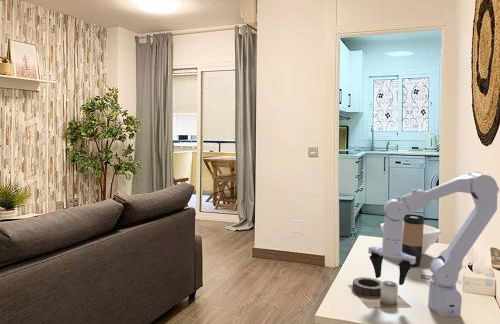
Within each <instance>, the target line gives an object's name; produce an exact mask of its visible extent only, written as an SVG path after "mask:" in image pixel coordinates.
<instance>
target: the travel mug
mask: <svg viewBox="0 0 500 324" xmlns="http://www.w3.org/2000/svg"><path fill="white" fill-rule="evenodd" d="M403 221H404V227H403V240H402V252H403V253H405V254H408V255H411V256H414V257H416V263H415V264H413V265H412V266H411V268H419V267H420V266H421V261H422V243H423V227H424V225H425V223H424V222H425V218H424V216H422V215H418V214H412V213H410V214H406V215H405V217H404V218H403Z"/></svg>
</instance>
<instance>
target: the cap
mask: <svg viewBox="0 0 500 324" xmlns="http://www.w3.org/2000/svg"><path fill="white" fill-rule="evenodd" d="M398 290H399V284H398V283H396V282H394V281H392V280H383V281H382V283H381V295H380V301H381V302H382V303H384V304H388V305H394V304H397V294H398Z"/></svg>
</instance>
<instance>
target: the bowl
mask: <svg viewBox="0 0 500 324" xmlns="http://www.w3.org/2000/svg"><path fill="white" fill-rule="evenodd" d="M379 226H380V229H381V230H382V232H383V228H384V222H383V223H382V222H381V223H380V225H379ZM403 227H404V220H403ZM441 234H442V231H441V229H438V228H436V227H434V226H430V225H427V224H424V227H423V243H422V254H425V253H426V252H427V251H428V249H429V248H430V246H431V245H434V244H435V242H436V241H437V239H438V238H439V237H440V235H441ZM402 240H403V235H402ZM401 252H402V250H401ZM422 254H421V255H422Z"/></svg>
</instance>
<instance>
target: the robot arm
mask: <svg viewBox="0 0 500 324" xmlns="http://www.w3.org/2000/svg"><path fill="white" fill-rule="evenodd" d="M499 192H500V188H499V186H498V184H497V182H496V180H495V178H494V177H492V176H491V175H490V174H489V175H488V174H484V173H482V172H479V171H471V172H469V173H468V174H466V173H465V174H462V175H460V176H458V177H455V178H452V179H450V180H448V181H446V182H444V183H440V184H439V185H437V186H434V187H433V188H430V189H428V190H423V189H421V188H420V189H416V188H414V189H411V192H409V193H406V194H404V195H402V196H401V195H397V196H396V198H391V199H388V200H387V201H386V202H385V203H384V205H383V211H384V213H385V214H384V217H383V218H384V222H383V223H384V228H383V231H382V245H381V247H377V246H373V245H372V246H369V247H368V254H370V255H369V260H370V261H371V264H372V267H373V270H374V275H375V279H378V278H381V276H382V265H383V260H384V259H383V258H390V259H393V260H396V261H401V262H399V263H398V268H399V278H398V279H399V280H398V286H399V285H400V286H402V285H404V283H405V281H406V278H407V275H408V273H409V271H410V269H411V268H412V267H411V266H412V265H413V264H415V263H416V257H414V256H411V255H408V254H405V253H403V252H401V250H402V235H403V221H404V217H405V215H408V214H412V213H415V212H417V211H421V210H423V209H425V208H427V207H430V206H429V205H430V204H431V202H432V201H435V200H439V199H441V198H443V197H447V196H449V195H452V194H455V193H463V194H464V193H465V194H470V195H471V197H472V200H473V203H474V208H473V209H472V210H471V212H470V214H469V215H468V217H467V218H466V220H465V221H464V222H463V223H462V226H461V227H460V228H459V230H458V232H457V233H456V234H455V236H454V237H453V239H452V240H451V242H450V243H449V244H448V246H447V248H446V249H444V250H442V251H441V252H440V254H439V255H438V256H436V257H434V258H432V260H431V261H430V262H429V270H430V272H431V273H432V275H431V276H430V278H429V285H428V286H429V288H428V300H427V301H428V303H427V306H428V308H429V309H431V310H433V311H435V312H436V313H437V314H438V315H440V316H441V317H457V316H458V317H461V315H462V302H463V301H462V299H463V298H462V297H463V296H462V295H461V293H460V292H459V291H458V289H457V282H458V280H459V274H460V272H461V270H462V268H463V261H464V259H465V257H466V256H467V255H468V253H469V252H470V250H471V248H472V247H473V246H474V244H475V243H476V242H477V240H478V238H479V237H480V235H481V234H482V233H483V231H484V229H485V228H486V226H487V225H488V224H489V222H490V221H491V219H492V218H493V217H494V215H495V213H496V212H497V210H498V194H499Z"/></svg>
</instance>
